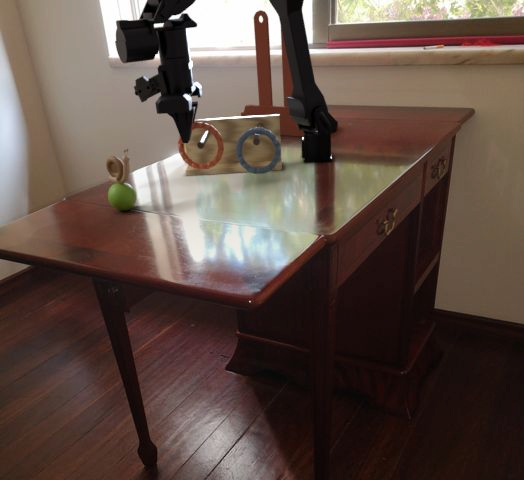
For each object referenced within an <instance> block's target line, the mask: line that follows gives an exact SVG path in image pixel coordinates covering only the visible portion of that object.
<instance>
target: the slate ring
mask: <svg viewBox="0 0 524 480" xmlns="http://www.w3.org/2000/svg"><path fill="white" fill-rule="evenodd" d="M253 134H263V135H265V136H267V137H268V138H270V139H271V140H272V142H273V144H274V146H275V155H274V158H273V160H272V162H271V163H270V164H269V165H267V166H265V167H263V168H255V167H252V166H250V165H249V164H248V163H247V162H245V160H244V158H243V156H242V146H243V143H244V141H245V140H246V139H247V138H248V137H249V136H251V135H253ZM236 153H237V158H238V160H239V162H240V164H241V166H242V167H244V168H245V169H246V170H247V171H249V172H248V173H251V174H255V175H260V174H266V173H268V172H271V171H270V170H272V169H273V168H274V167H275V166H276V164H277V163H278V161H279V158H280V155H281V156H282V147H281V148H280V143H279V141H278V139H277V137H276V136H275V135H274V134H273V133H272V132H271V131H270V130H267V129H264V128H251V129H250V130H248V131H246V132H244V133H243V134H242V136H241V137H240V138H239V140H238V143H237V146H236Z"/></svg>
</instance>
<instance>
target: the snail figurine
mask: <svg viewBox="0 0 524 480" xmlns="http://www.w3.org/2000/svg"><path fill="white" fill-rule="evenodd" d="M122 153H124V155H122V157H121V159H120V158H119V157H117V156H116V155H111V156H109V157H108V158H107V159H106V161H105V167H106V170H107V172H108V174H109V175H108V179H109V180H110V181H111V182H112V183H113V184H112V185H111V186H110V187H109V189H108V192H107V198H108V202H109V204H110V205H111V206H112V207H113V208H114V209H116V210H118V211H122V212H124V211H128V210H130V209H132V208H133V207H134V206H135V204H136V202H137V192H136V190H135V188H134V186H132V185H131V184H129V183H127V182H128V181H129V180H130V179H129V178H130V174H131V173H130V172H131V171H130V170H131V169H130V168H131V167H130V157H129V155H128V154H129V148H125V149H124V148H123V150H122ZM126 153H127V154H126Z"/></svg>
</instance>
